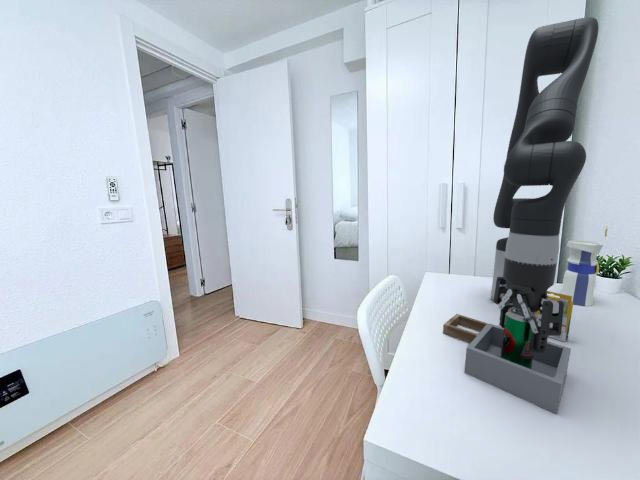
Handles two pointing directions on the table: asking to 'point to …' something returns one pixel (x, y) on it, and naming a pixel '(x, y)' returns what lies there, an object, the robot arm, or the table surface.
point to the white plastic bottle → (581, 271)
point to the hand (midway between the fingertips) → (519, 338)
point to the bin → (519, 369)
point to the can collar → (462, 334)
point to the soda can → (517, 338)
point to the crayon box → (566, 314)
